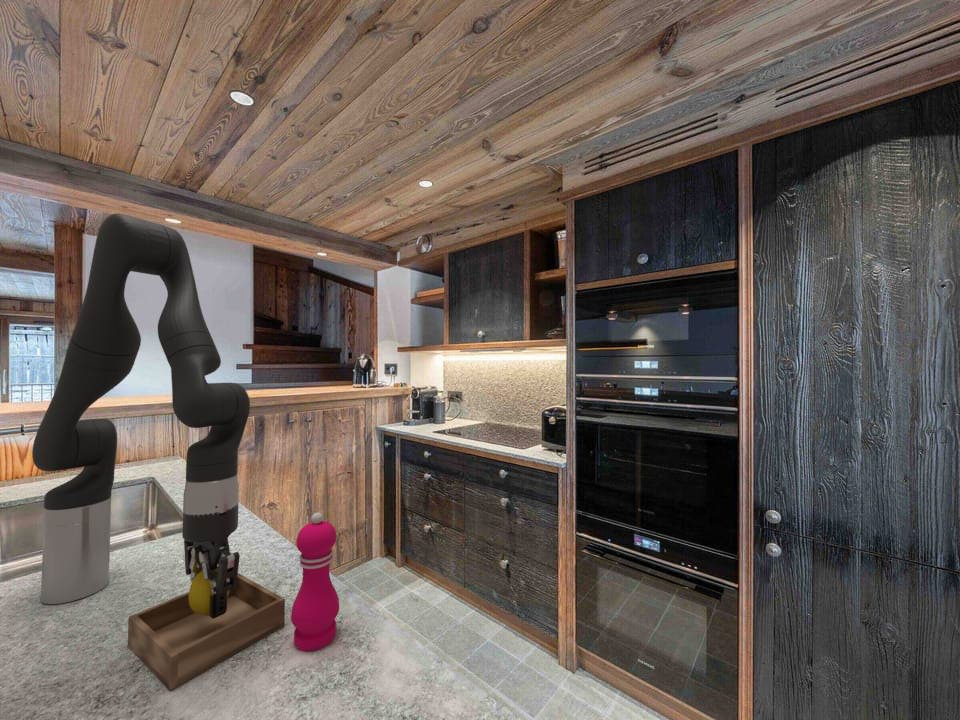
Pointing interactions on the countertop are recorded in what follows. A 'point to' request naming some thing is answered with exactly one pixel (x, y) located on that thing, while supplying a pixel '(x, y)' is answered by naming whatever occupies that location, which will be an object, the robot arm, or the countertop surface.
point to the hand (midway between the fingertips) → (209, 608)
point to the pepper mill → (315, 587)
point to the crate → (202, 631)
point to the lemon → (201, 594)
